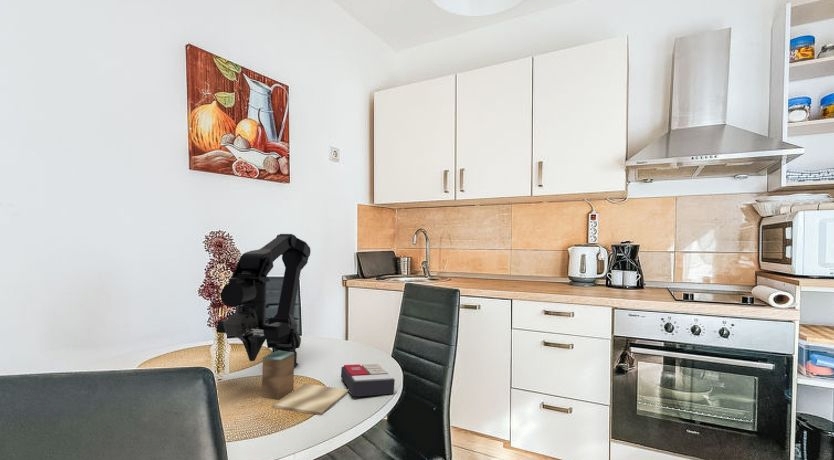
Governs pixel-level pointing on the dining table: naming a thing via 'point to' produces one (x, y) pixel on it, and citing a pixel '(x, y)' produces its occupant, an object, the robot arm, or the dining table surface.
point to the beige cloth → (311, 399)
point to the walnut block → (277, 375)
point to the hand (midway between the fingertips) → (252, 360)
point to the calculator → (367, 380)
